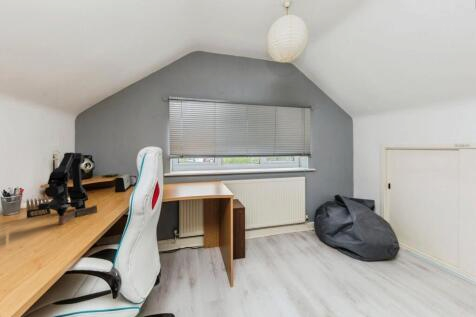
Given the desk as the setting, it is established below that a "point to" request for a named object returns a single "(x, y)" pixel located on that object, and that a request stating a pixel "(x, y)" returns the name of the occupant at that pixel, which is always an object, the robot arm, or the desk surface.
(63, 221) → the fence gate
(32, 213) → the ammunition clip
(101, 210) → the desk surface
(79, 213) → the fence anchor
